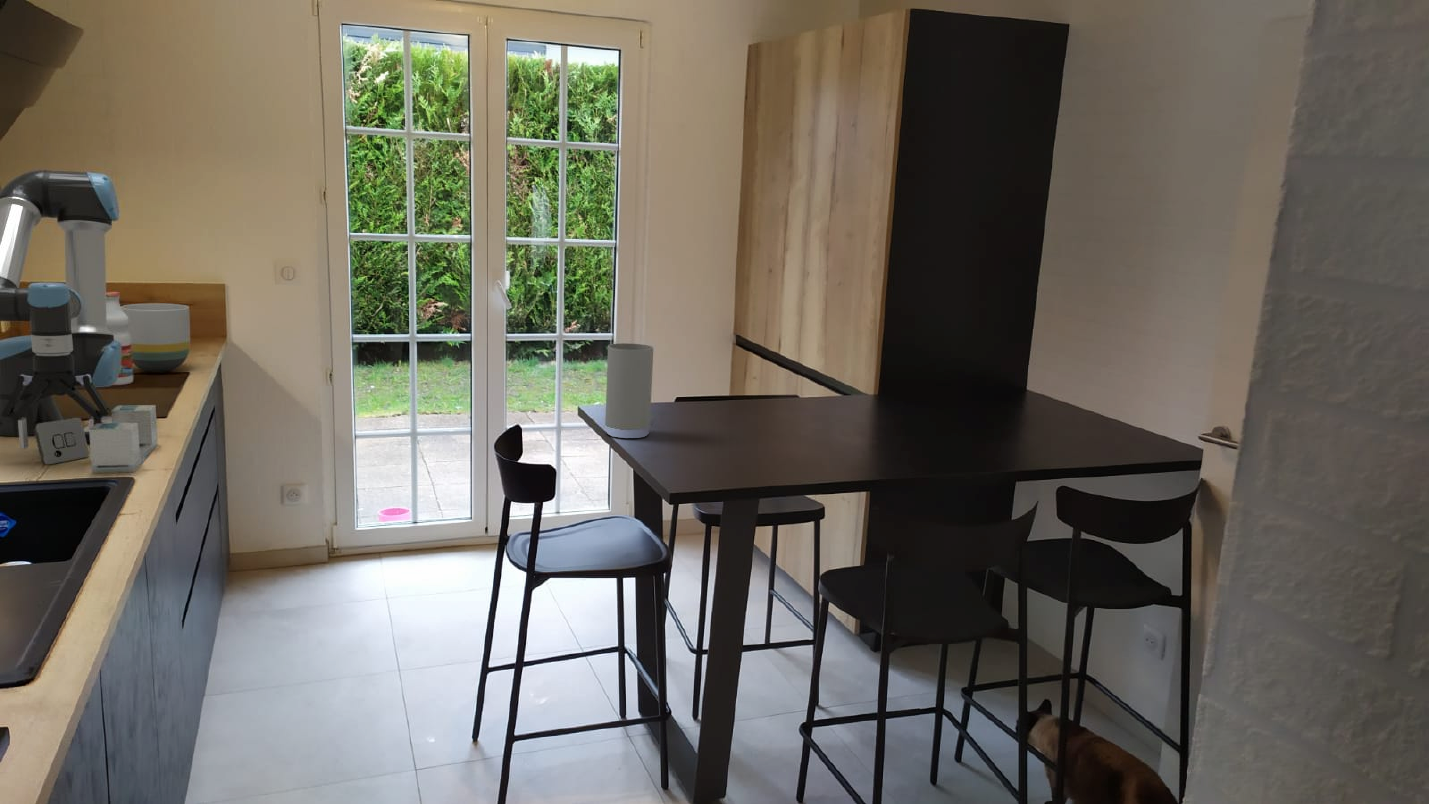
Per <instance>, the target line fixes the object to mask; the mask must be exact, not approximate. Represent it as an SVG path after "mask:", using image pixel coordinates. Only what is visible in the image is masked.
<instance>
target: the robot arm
mask: <svg viewBox="0 0 1429 804" xmlns="http://www.w3.org/2000/svg"><path fill="white" fill-rule="evenodd" d="M42 218H44V219H45V218H49V219H57V220H56V225H57V226H58V227H59V228H60V229H62V230H63V232H64V257H65V258H64V261H65V263H64V264H65V265H64V267H65V268H64V269H65V270H64V271H65V273H64V275H65V283H62V282H34V283H30V284H29V285H28V287H20V283H21V280H22V275H23V271H24V267H25V263H26V259H27V254H28V251H29V247H30V241H31V239H32V234H33V229H34V227H36V226H37V225H38V224H39V223H40V222H41V219H42ZM119 218H120V209H119V203H118V197H117V192H116V189H115V186H114V183H113V181H112V179H111V178H110V177H109V176H108V175H106V174H103V173H95V172H90V171H83V172H82V171H66V170H65V171H63V170H47V169H36V170H30V171H28V172H24V173H21V174H20V175H18V176H16V177H14V178H13V179H11V180H10V181H9V182H7V183H6V184H5V185H4V186H3V187H2V188H1V190H0V322H30V323H29V324H30V325H29V326H30V335H22V336H20V335H19V336H14V337H8V338H4V339H1V340H0V436H7V437H18V438H19V439H18V440H19V449H20V450H25V449H27V448H28V447H29V439H28V438H29V437H28V436H35V433H34V428H36V426H37V424H39V423H43V422H52V421H59V420H64V417H63V416H62V413H61V410H60V409H59V407H58V405H57V403H56V401H55V398H54V395H55V396H58V397H59V396H60V397H61V396H62V397H63V396H64V395H65V396H66V395H67V397H70V398H72V399H73V400H74V401H75V403H77V405H79V407H81V408H82V409H83V410H84V411H85V412H87V413H88V415H89V416H91V418H89V419H88V424H90V429H91V428H92V427H93V426H94V425H95V424H98V423H102V419H101V418H102V417H108V416H109V414H111V411H112V410H111V409H110V408H109V406H108V405H107V403H106V401H105V400H104V399H103V396H102V395H101V394H100V392H99V391H98V389H97V388H105V387H112V386H114V385H113V384H114V383H115V382H116V380H117V378H118V375H119V372H120V367H121V359H122V352H121V351H122V346H121V343H120V342H118V341H114V334H113V333H112V332H111V331H109V330H108V329H107V317H106V292H107V277H106V276H107V273H106V270H107V269H106V268H107V267H106V266H107V265H106V235H107V233H108V232H110V230H111V229H112V227H113V222H116V221H119V220H120V219H119ZM78 388H84V389H85V391H86V392H87V393H88V395H89V396H90V398H91V400H92V401H93V403H94V404H95V405H96V406H94V404H92V403H91V401H89V400H88V398H86V397H85V396H84V395H83V394H82V393H81V392H80V391H79V389H78Z"/></svg>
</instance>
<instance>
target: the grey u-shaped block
mask: <svg viewBox="0 0 1429 804" xmlns="http://www.w3.org/2000/svg"><path fill="white" fill-rule="evenodd" d="M156 410H157V409H156V404H151V405H149V404H148V405H147V404H145V405H144V404H142V405H140V404H138V405H137V404H136V405H134V404H133V405H131V404H129V405H116V406H115V407H114V408H113V409H112V410H110V411H111V412H110V414H111V417H112V423H98V424H95V425H94V426H93V427H92V428H91V429H90V430H89V434H90V444H89V446H90V447H89V448H90V459H91V473H92V474H113V473H114V474H116V473H117V474H120V473H135V472H136V471H137V470H138V468H139V467H140V466H141V465H142V463H143V462H144V461H146V459H147V457H149V455H150V454H152V453H151V452H152V451H154V449H155V448H156V447H157V446H158V444H159V443H158V427H157V426H158V425H157V411H156ZM156 445H157V446H156Z"/></svg>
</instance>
